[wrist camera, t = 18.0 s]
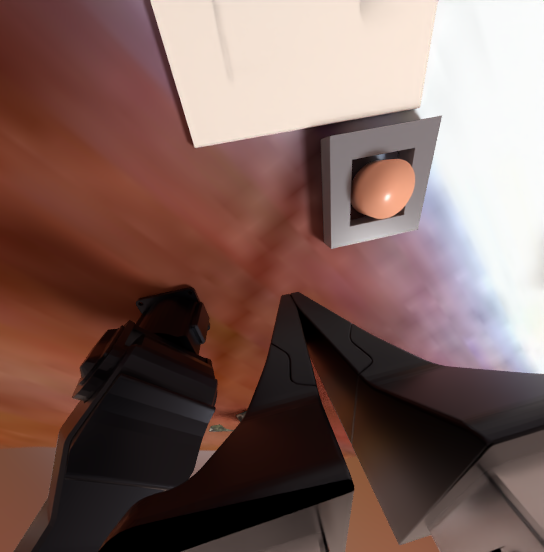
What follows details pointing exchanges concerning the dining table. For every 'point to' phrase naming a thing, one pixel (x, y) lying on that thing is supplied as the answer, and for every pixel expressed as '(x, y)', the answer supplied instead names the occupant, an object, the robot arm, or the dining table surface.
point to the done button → (382, 188)
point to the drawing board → (293, 62)
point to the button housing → (345, 147)
